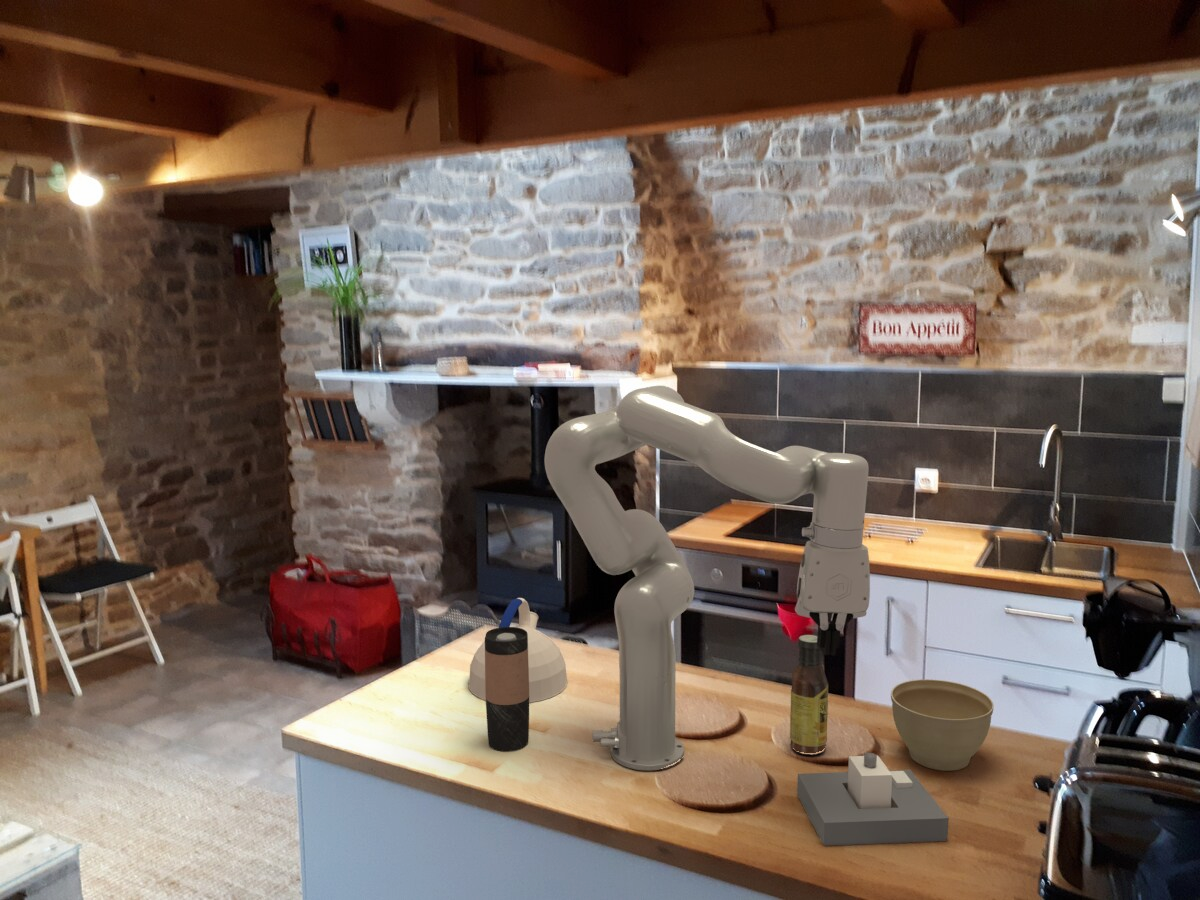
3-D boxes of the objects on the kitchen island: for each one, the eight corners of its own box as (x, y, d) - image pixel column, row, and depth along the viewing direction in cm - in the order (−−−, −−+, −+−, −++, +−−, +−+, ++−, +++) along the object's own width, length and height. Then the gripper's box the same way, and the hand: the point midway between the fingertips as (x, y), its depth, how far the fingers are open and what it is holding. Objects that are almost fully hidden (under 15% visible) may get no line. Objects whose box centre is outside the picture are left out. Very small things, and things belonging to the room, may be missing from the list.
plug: (860, 820, 135) (862, 765, 134) (847, 799, 141) (849, 746, 140) (890, 819, 135) (892, 764, 134) (876, 798, 141) (878, 745, 140)
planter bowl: (898, 729, 167) (900, 672, 165) (994, 749, 159) (998, 689, 158) (879, 768, 153) (882, 706, 151) (984, 791, 145) (988, 726, 144)
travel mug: (539, 741, 163) (537, 633, 160) (506, 757, 157) (504, 645, 154) (510, 728, 168) (508, 623, 165) (477, 743, 163) (474, 634, 160)
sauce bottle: (827, 759, 156) (830, 647, 153) (789, 755, 157) (792, 644, 154) (825, 741, 162) (829, 633, 159) (789, 738, 164) (792, 631, 161)
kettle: (578, 669, 196) (578, 587, 193) (552, 709, 176) (550, 619, 173) (489, 661, 201) (487, 581, 198) (452, 700, 181) (450, 611, 178)
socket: (823, 845, 131) (824, 817, 130) (797, 794, 145) (797, 768, 144) (947, 840, 132) (948, 812, 131) (909, 790, 146) (910, 765, 145)
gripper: (793, 541, 134) (784, 660, 137) (894, 544, 134) (883, 662, 138) (781, 528, 141) (773, 641, 144) (877, 530, 142) (867, 643, 145)
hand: (827, 651), depth 141 cm, fingers closed
